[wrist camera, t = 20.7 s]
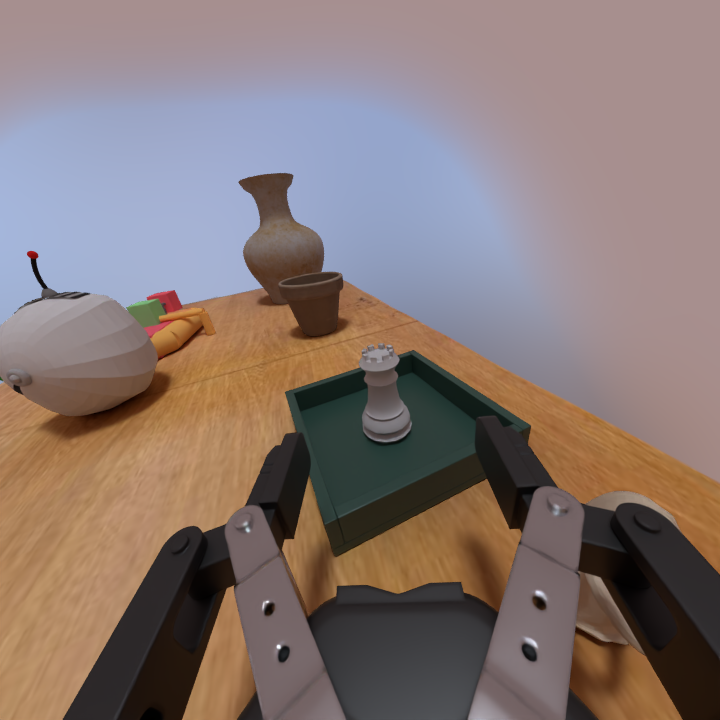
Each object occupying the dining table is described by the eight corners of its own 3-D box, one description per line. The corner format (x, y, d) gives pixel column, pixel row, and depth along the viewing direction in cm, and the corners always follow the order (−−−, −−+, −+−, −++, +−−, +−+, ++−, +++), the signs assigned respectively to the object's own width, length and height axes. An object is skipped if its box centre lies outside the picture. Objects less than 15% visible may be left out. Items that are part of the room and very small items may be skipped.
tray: (415, 373, 34) (413, 349, 33) (525, 458, 21) (531, 425, 20) (292, 416, 30) (284, 391, 28) (335, 557, 17) (324, 525, 15)
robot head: (102, 384, 45) (15, 257, 36) (192, 366, 46) (130, 239, 37) (4, 459, 31) (-184, 278, 21) (138, 430, 32) (15, 247, 23)
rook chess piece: (354, 438, 24) (338, 360, 21) (376, 408, 28) (365, 336, 24) (401, 452, 22) (392, 367, 19) (418, 418, 26) (414, 340, 22)
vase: (256, 298, 88) (222, 190, 75) (321, 283, 94) (300, 181, 81) (262, 314, 70) (217, 175, 56) (341, 294, 76) (319, 165, 62)
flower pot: (358, 318, 56) (350, 268, 51) (338, 342, 47) (326, 282, 42) (308, 320, 60) (297, 273, 55) (280, 342, 50) (264, 288, 46)
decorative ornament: (673, 559, 14) (720, 492, 12) (629, 729, 10) (689, 680, 8) (580, 507, 17) (602, 444, 15) (516, 622, 13) (532, 561, 11)
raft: (47, 392, 45) (7, 343, 41) (142, 331, 72) (124, 297, 68) (189, 364, 47) (165, 314, 43) (230, 314, 74) (218, 281, 70)
